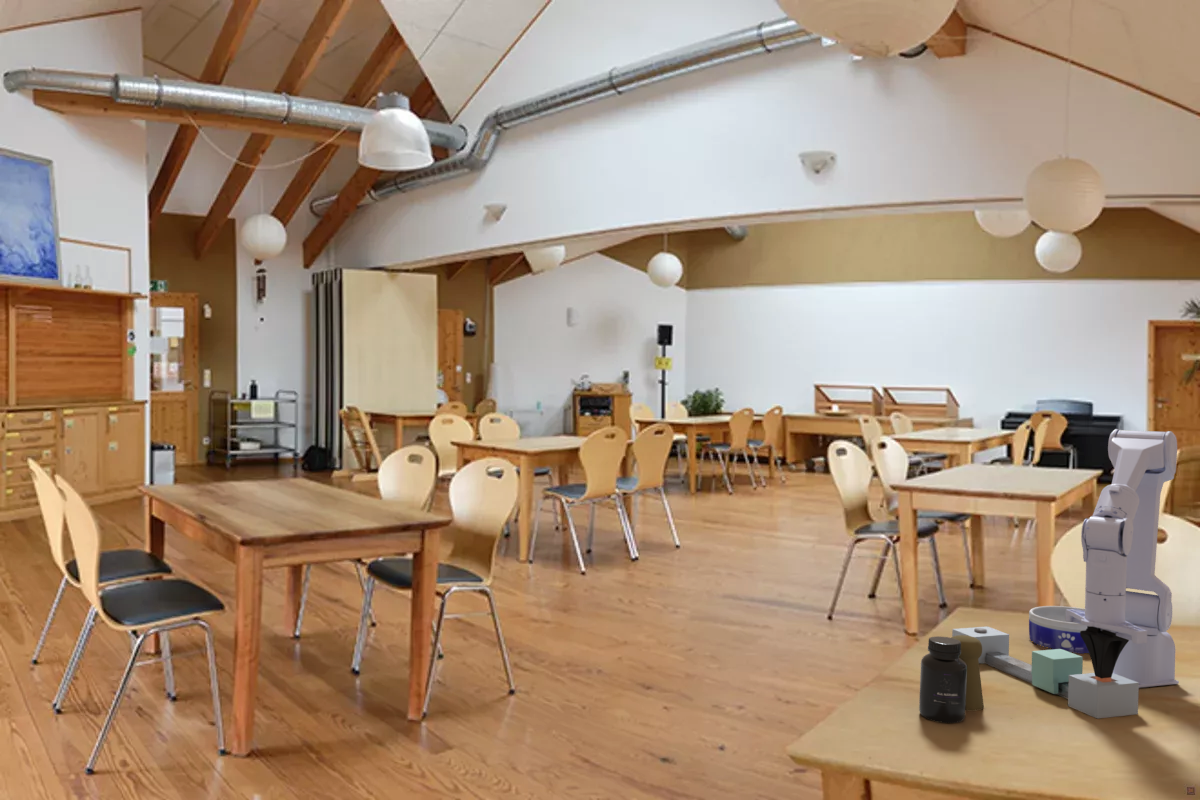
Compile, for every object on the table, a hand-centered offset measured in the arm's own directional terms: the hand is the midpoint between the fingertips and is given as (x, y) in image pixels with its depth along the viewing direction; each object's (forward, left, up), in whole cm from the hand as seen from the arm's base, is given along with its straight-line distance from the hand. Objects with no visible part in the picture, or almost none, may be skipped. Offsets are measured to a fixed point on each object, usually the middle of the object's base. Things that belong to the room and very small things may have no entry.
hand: (1103, 676), depth 153 cm
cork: (+20, -8, -6) cm, 22 cm away
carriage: (0, -10, -5) cm, 11 cm away
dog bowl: (-25, -34, -6) cm, 43 cm away
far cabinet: (0, -30, -5) cm, 30 cm away
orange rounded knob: (0, 0, -4) cm, 4 cm away
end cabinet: (0, 0, -5) cm, 5 cm away
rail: (0, -15, -5) cm, 16 cm away
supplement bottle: (+27, -4, -6) cm, 28 cm away
